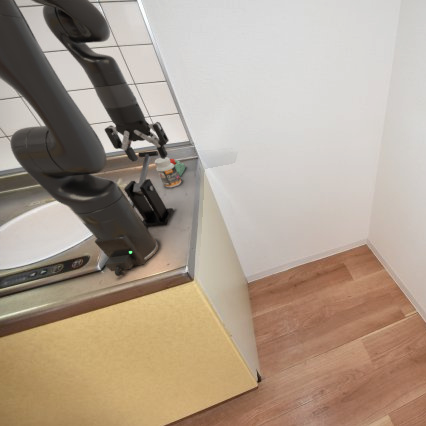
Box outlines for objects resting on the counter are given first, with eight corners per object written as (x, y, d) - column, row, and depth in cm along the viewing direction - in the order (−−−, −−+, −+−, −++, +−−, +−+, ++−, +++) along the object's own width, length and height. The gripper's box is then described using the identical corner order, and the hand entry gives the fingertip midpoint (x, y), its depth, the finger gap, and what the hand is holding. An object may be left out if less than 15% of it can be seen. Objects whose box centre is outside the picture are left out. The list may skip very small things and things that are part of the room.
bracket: (151, 213, 76) (129, 178, 68) (174, 210, 77) (155, 176, 68) (141, 228, 71) (117, 192, 62) (166, 225, 71) (145, 189, 63)
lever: (142, 155, 74) (137, 150, 71) (159, 154, 74) (155, 148, 72) (132, 196, 67) (126, 192, 65) (151, 194, 67) (146, 190, 65)
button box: (180, 176, 94) (176, 167, 91) (164, 177, 93) (159, 168, 91) (185, 167, 99) (182, 159, 97) (170, 169, 99) (166, 160, 96)
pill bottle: (175, 188, 87) (163, 164, 80) (161, 187, 88) (148, 163, 82) (185, 180, 91) (174, 156, 85) (172, 179, 92) (160, 155, 86)
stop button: (174, 166, 93) (172, 162, 92) (166, 167, 92) (164, 163, 91) (177, 162, 95) (175, 158, 94) (168, 163, 95) (166, 159, 94)
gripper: (82, 109, 59) (119, 167, 69) (142, 104, 61) (170, 162, 71) (99, 101, 65) (131, 156, 75) (154, 97, 66) (178, 151, 77)
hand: (150, 159), depth 73 cm, fingers open, 8 cm apart
